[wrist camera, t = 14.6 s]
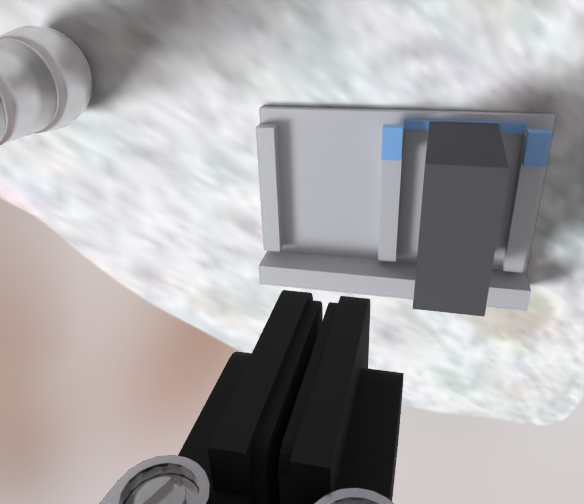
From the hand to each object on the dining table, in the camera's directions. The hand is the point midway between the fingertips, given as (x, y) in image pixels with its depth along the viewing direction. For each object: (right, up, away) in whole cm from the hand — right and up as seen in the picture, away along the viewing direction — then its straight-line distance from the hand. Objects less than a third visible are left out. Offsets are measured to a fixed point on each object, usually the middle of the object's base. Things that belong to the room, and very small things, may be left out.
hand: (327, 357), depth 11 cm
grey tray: (+6, +6, +27) cm, 28 cm away
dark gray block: (+10, +6, +25) cm, 27 cm away
